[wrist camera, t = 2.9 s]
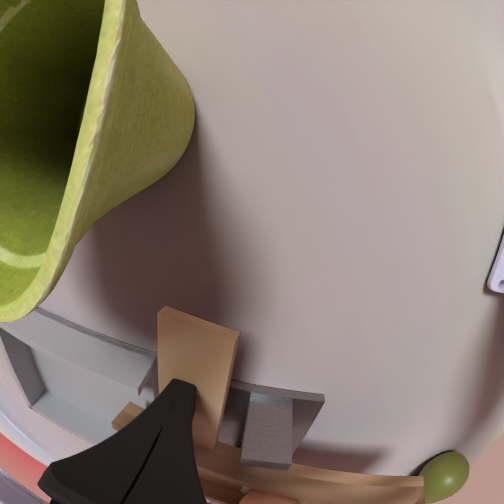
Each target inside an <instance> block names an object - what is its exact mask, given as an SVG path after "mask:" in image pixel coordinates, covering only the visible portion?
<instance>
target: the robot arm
mask: <svg viewBox="0 0 504 504" xmlns="http://www.w3.org/2000/svg"><path fill="white" fill-rule="evenodd" d="M487 286H488V288H489V289H491V290H492V291H495V292H499V293H503V294H504V235H503V239H502V242H501V245H500V248H499V251H498V254H497V257H496V260H495V263H494V265H493V268H492V271H491V273H490V276H489V278H488V282H487ZM196 388H197V387H196V386H195V385H194V384H191V383H189V382H186V381H182V380H179V379H175V378H174V379H172V380H171V381H170V382H169V384H168V385H167V386H166V387H165V388H164V390H163V391H162V392H161V393H160V394H159V395H158V396H157V397H156V398H155V400H154V401H153V402H152V403H151V404H150V405H149V406H148V407H147V408H146V409H144V410H143V411H142V412H141V413H140V414H139V415H138V416H137V417H135V418H134V419H133V420H132V421H131V422H130V423H128V424H127V425H126V426H124V427H123V428H122V429H120V430H119V431H118V432H116V433H115V434H113V435H112V436H110V437H109V438H107V439H105V440H104V441H102V442H100V443H98V444H97V445H95V446H93V447H91V448H89V449H87V450H84V451H82V452H80V453H78V454H76V455H73V456H70V457H67V458H64V459H61V460H58V461H55V462H52V463H51V464H50V465H49V466H48V468H47V469H46V470H45V471H44V473H43V475H42V477H41V478H40V480H39V482H38V486H39V488H40V489H41V490H42V491H44V492H45V493H46V494H47V495H48V496H50V497H51V498H52V500H51V501H50V503H47V502H46V501H44V500H43V499H41V498H40V497H38V496H37V495H35V494H34V493H33V492H31V491H30V490H28V489H27V488H26V487H24V486H23V485H21V484H20V483H19V482H18V481H16V480H15V479H14V478H12V477H11V476H10V475H9V474H8V473H6V472H5V471H4V470H3V469H2V468H0V504H207V502H206V499H205V496H204V493H203V489H202V486H201V482H200V478H199V475H198V470H197V465H196V460H195V454H194V446H193V436H192V422H193V417H194V413H195V400H196Z"/></svg>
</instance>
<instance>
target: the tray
mask: <svg viewBox="0 0 504 504" xmlns="http://www.w3.org/2000/svg"><path fill="white" fill-rule="evenodd" d="M0 345H1V348H2V350H3V353H4V355H5V358H6V360H7V363H8V365H9V367H10V369H11V372H12V374H13V376H14V378H15V380H16V382H17V385H18V387H19V389H20V391H21V393H22V395H23V396H24V398H25V400H26V402H27V404H28V406H29V408H31V409H32V410H34V411H35V412H37V413H38V414H40V415H41V416H43V417H45V418H46V419H48V420H49V421H51V422H53V423H54V424H56V425H58V426H59V427H61V428H63V429H65V430H67V431H68V432H70V433H72V434H74V435H76V436H78V437H80V438H81V439H83V440H85V441H87V442H89V443H91V444H93V445H97V444H98V443H100V442H102V441H104V440H105V439H107V438H109V437H110V436H112V435H113V434H115V433H116V432H118V431H117V430H115V429H113V427H112V424H111V422H112V421H113V420H114V419H115V418H116V416H117V415H118V414H119V413H120V412H121V411H122V410H123V408H124V407H125V406H126V405H127V404H128V403H129V401H131V402H132V403H134V404H136V405H138V406H140V407H142V408H144V409H146V408H147V407H148V406H149V405H150V404H151V403H152V402H153V401H154V400H155V398H156V397H157V396H158V395H159V385H158V358H157V353H155V352H152V351H148V350H145V349H142V348H139V347H136V346H133V345H130V344H127V343H124V342H121V341H118V340H116V339H113V338H110V337H107V336H105V335H102V334H99V333H97V332H94V331H92V330H89V329H87V328H84V327H82V326H79V325H77V324H75V323H72V322H70V321H67V320H65V319H63V318H61V317H58V316H56V315H54V314H52V313H50V312H47V311H45V310H43V309H41V308H39V307H37V308H36V309H35V310H34V311H33V312H31V313H30V314H29V315H27V316H25V317H23V318H21V319H19V320H16V321H14V322H6V323H3V322H0Z"/></svg>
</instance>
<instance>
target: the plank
mask: <svg viewBox="0 0 504 504" xmlns="http://www.w3.org/2000/svg"><path fill="white" fill-rule="evenodd" d="M239 337H240V332H239V331H236V330H232V329H229V328H226V327H223V326H220V325H218V324H215V323H212V322H209V321H206V320H203V319H200V318H198V317H195V316H192V315H189V314H186V313H184V312H181V311H178V310H176V309H173V308H170V307H168V306H165V307H163V308H162V309H161V310H160V311H159V312H158V313H157V358H158V385H159V394H160V393H161V392H162V391H163V390H164V388H165V387H166V386H167V385H168V384H169V382H170V381H171V380H172V379H174V378H175V379H179V380H182V381H186V382H189V383H191V384H194V385H195V386H196V387H197V388H196V400H195V413H194V417H193V422H192V436H193V446H194V454H195V460H196V465H197V470H198V475H199V478H200V482H201V486H202V489H203V493H204V496H205V499H208V500H211V501H213V502H216V503H219V504H239V502H240V501H241V499H242V498H243V497H244V496H245V495H247V494H248V493H250V492H251V491H253V490H259V491H263V492H267V493H271V494H275V495H280V496H284V497H289V498H295V499H297V500H298V502H299V504H425V491H424V478H423V476H385V475H370V474H359V473H350V472H342V471H335V470H328V469H322V468H316V467H311V466H306V465H301V464H296V463H292V465H291V466H290V468H289V469H288V470H287V471H286V470H275V469H267V468H259V467H252V466H245V465H239V458H240V452H241V449H240V448H237V447H234V446H231V445H228V444H225V443H222V442H220V441H218V438H219V433H220V428H221V424H222V419H223V414H224V409H225V405H226V400H227V395H228V390H229V385H230V381H231V376H232V371H233V366H234V361H235V356H236V352H237V347H238V342H239ZM143 410H144V408H142V407H140V406H138V405H136V404H134V403H132V402H131V401H129V403H128V404H127V405H126V406H125V407H124V408H123V410H122V411H121V412H120V413H119V414H118V415H117V416H116V418H115V419H114V420H113V421H112V422H111V424H112V427H113V429H115V430H117V431H119V430H120V429H122V428H123V427H124V426H126V425H127V424H128V423H130V422H131V421H132V420H133V419H134V418H135V417H137V416H138V415H139V414H140V413H141V412H142V411H143Z"/></svg>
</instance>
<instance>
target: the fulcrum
mask: <svg viewBox="0 0 504 504" xmlns="http://www.w3.org/2000/svg"><path fill="white" fill-rule="evenodd" d="M324 402H325V399H324V394H315V393H306V392H299V391H291V390H284V389H278V388H272V387H266V386H260V385H255V384H249V383H244V382H239V381H234V380H231V381H230V385H229V390H228V395H227V400H226V405H225V409H224V414H223V419H222V424H221V428H220V433H219V438H218V441H220V442H222V443H225V444H228V445H231V446H234V447H237V448H240V449H241V452H240V458H239V465H245V466H252V467H259V468H267V469H275V470H286V471H287V470H288V469H289V468H290V466H291V465H292V455H293V454H294V452H295V450H296V449H297V447H298V446H299V444H300V443H301V441H302V440H303V438H304V436H305V435H306V433H307V432H308V430H309V428H310V427H311V425H312V423H313V422H314V420H315V418H316V416H317V415H318V413H319V411H320V409H321V408H322V406H323V404H324Z"/></svg>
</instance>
